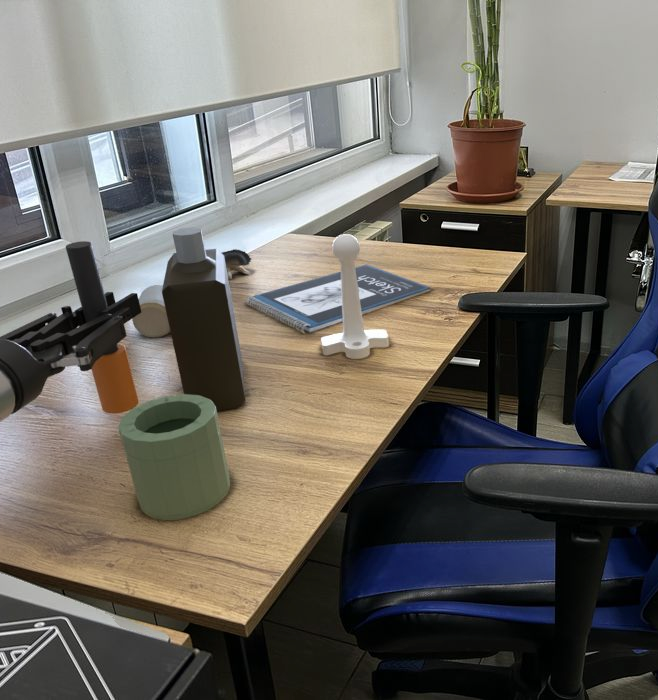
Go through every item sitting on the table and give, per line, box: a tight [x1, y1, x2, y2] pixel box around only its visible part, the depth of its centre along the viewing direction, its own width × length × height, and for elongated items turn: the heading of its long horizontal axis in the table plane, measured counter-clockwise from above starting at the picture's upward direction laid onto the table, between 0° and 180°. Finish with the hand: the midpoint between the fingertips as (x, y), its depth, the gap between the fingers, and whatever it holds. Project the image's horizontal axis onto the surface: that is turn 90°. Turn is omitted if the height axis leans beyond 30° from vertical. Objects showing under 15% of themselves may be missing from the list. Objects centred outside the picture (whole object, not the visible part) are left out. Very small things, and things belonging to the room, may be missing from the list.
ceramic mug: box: [131, 284, 171, 339], centre depth 127 cm, size 11×8×8 cm
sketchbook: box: [245, 264, 432, 334], centre depth 141 cm, size 22×30×2 cm
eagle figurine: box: [221, 248, 252, 280], centre depth 153 cm, size 8×7×9 cm
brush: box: [65, 240, 140, 415], centre depth 89 cm, size 4×4×22 cm
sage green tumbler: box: [117, 393, 231, 521], centre depth 82 cm, size 10×10×11 cm
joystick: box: [320, 233, 390, 360], centre depth 115 cm, size 11×8×20 cm
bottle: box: [162, 226, 246, 413], centre depth 103 cm, size 8×16×25 cm, turn 18°
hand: (124, 302), depth 93 cm, fingers closed on brush, 3 cm apart
